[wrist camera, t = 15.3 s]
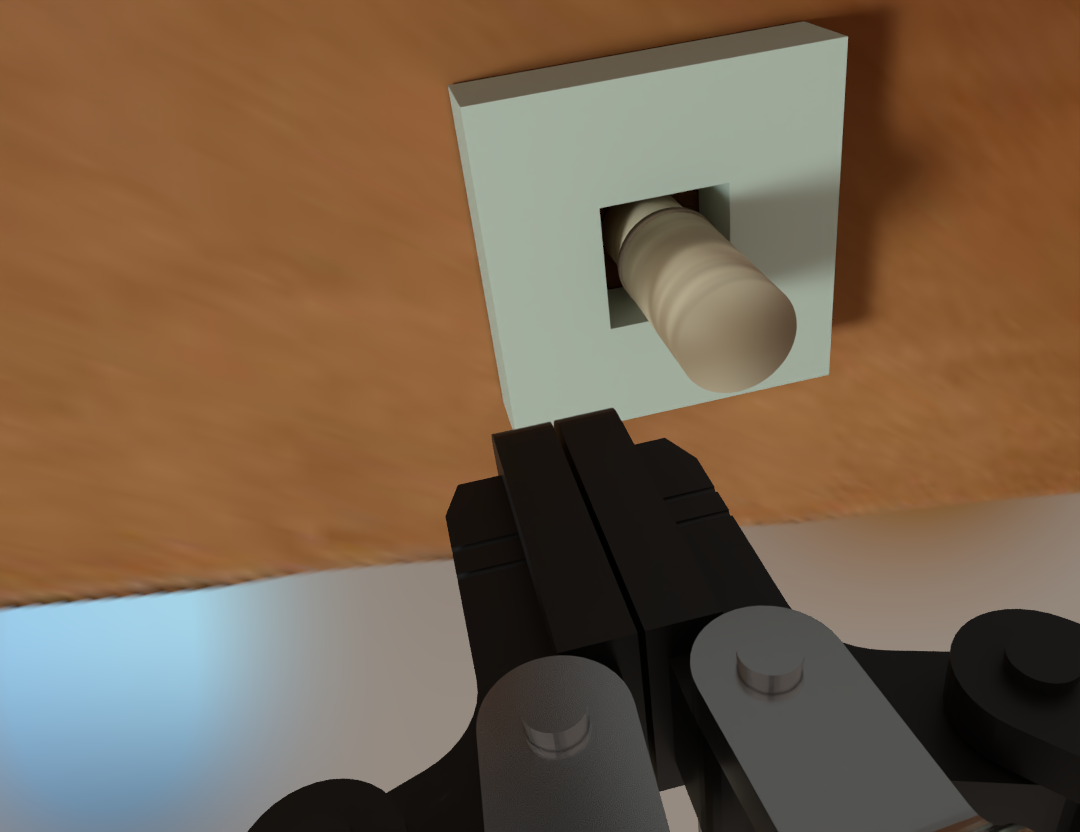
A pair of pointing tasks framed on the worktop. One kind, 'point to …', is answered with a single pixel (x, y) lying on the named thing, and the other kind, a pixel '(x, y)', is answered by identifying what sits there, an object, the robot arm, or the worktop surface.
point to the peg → (700, 294)
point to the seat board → (641, 173)
